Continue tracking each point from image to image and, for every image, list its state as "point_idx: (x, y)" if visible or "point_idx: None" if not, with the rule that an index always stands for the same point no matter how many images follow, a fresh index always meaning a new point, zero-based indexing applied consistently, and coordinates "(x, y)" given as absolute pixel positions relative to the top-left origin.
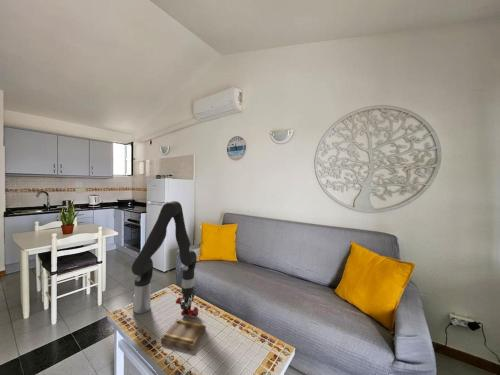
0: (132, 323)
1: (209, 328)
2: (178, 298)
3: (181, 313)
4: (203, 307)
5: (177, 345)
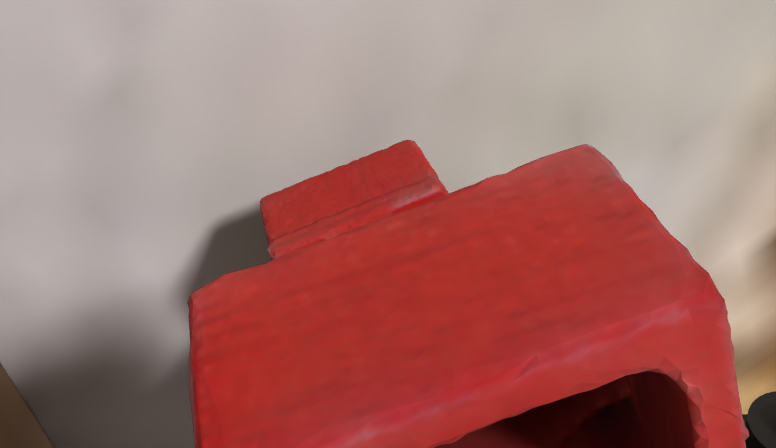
0: None
1: None
2: (638, 351)
3: (268, 236)
4: (770, 294)
5: None
